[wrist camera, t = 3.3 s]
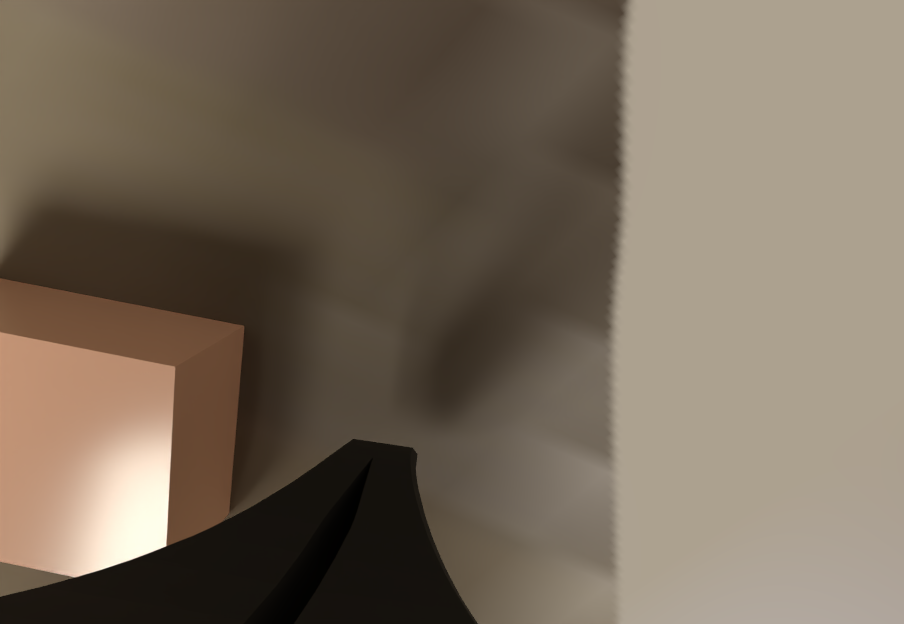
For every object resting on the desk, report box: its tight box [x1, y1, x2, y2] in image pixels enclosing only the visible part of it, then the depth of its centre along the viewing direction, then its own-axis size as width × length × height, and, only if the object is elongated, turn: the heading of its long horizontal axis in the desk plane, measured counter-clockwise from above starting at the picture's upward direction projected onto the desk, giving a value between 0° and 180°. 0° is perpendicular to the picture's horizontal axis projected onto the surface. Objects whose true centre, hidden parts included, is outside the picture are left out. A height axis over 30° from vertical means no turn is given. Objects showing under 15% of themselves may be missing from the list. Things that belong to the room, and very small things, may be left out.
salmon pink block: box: [0, 278, 245, 577], centre depth 12 cm, size 5×6×3 cm
